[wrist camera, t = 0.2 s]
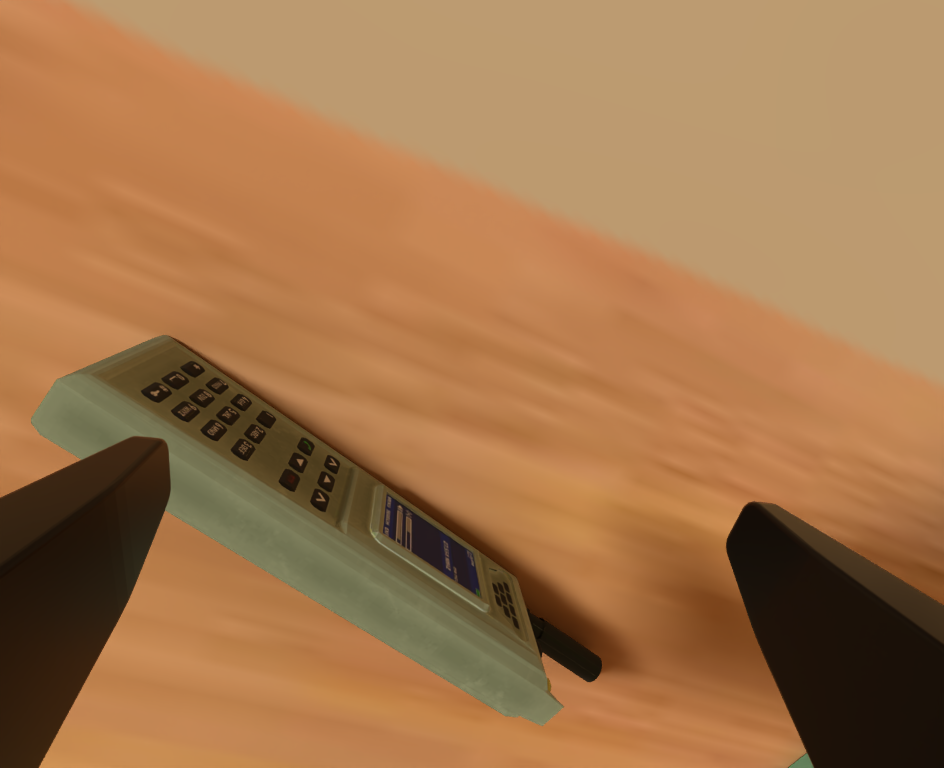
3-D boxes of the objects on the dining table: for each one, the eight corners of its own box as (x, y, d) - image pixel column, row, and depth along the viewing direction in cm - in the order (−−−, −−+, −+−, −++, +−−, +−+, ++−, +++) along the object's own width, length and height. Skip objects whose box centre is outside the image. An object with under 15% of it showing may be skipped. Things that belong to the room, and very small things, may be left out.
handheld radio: (170, 319, 22) (609, 627, 28) (124, 381, 23) (566, 671, 29) (72, 356, 16) (666, 743, 22) (11, 442, 16) (609, 797, 23)
